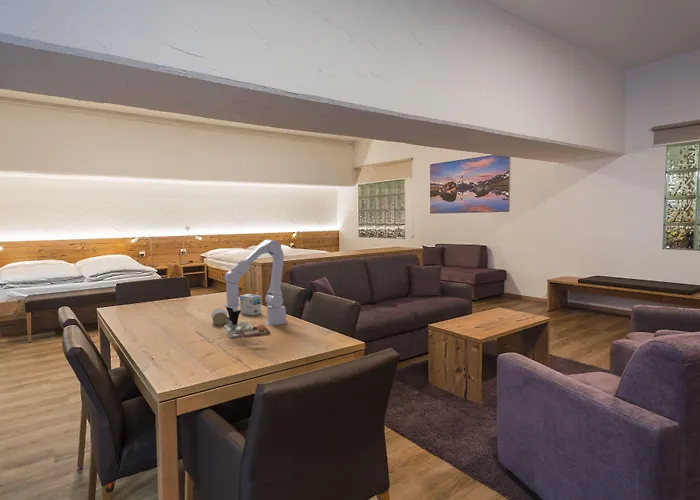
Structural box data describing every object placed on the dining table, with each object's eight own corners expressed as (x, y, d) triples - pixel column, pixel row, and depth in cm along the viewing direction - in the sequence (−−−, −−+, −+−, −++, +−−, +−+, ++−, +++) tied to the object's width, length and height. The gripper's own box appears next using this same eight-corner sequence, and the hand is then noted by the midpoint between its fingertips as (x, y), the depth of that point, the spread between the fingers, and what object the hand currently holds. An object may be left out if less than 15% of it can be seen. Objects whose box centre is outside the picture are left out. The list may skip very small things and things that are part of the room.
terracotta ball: (264, 330, 202) (264, 322, 202) (266, 332, 199) (266, 324, 198) (256, 331, 201) (255, 323, 200) (257, 333, 197) (257, 325, 197)
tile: (239, 333, 198) (239, 331, 198) (241, 338, 191) (241, 335, 191) (228, 334, 196) (228, 332, 196) (230, 339, 189) (230, 336, 189)
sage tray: (248, 325, 213) (248, 322, 213) (253, 331, 202) (253, 327, 202) (224, 328, 208) (224, 324, 208) (228, 334, 197) (227, 330, 197)
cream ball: (247, 326, 209) (246, 318, 208) (248, 328, 205) (248, 320, 205) (239, 327, 207) (238, 319, 207) (240, 329, 203) (240, 321, 203)
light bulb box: (261, 313, 239) (261, 295, 238) (253, 315, 233) (252, 297, 232) (248, 311, 245) (248, 293, 244) (239, 313, 239) (239, 295, 238)
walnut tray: (264, 328, 206) (264, 325, 206) (270, 335, 195) (270, 331, 195) (240, 331, 201) (240, 328, 201) (244, 338, 190) (244, 334, 190)
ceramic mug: (212, 326, 211) (212, 312, 210) (211, 322, 218) (211, 308, 218) (234, 325, 215) (234, 310, 214) (232, 321, 222) (232, 307, 222)
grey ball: (236, 327, 207) (236, 320, 206) (238, 329, 203) (237, 321, 203) (228, 328, 205) (228, 320, 205) (229, 330, 201) (229, 322, 201)
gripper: (222, 293, 207) (223, 320, 209) (226, 298, 194) (227, 327, 196) (236, 292, 210) (237, 318, 212) (241, 297, 197) (242, 325, 198)
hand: (233, 322), depth 204 cm, fingers open, 7 cm apart
